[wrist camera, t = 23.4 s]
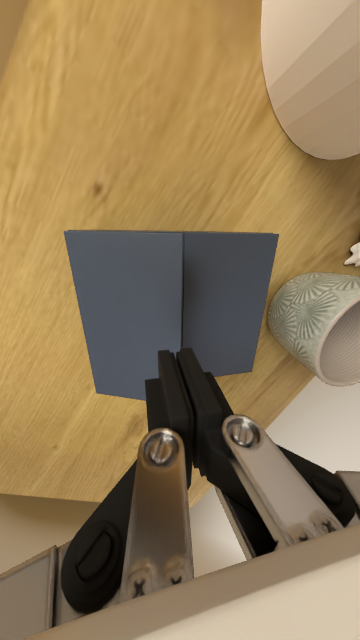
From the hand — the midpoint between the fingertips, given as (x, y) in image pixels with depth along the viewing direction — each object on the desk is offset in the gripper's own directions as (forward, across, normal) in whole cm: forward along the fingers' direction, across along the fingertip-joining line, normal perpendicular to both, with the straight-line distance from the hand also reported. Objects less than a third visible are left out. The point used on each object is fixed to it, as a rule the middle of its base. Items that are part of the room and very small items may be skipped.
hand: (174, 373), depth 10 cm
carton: (+17, -2, 0) cm, 17 cm away
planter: (+17, -22, +4) cm, 28 cm away
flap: (+6, +2, 0) cm, 6 cm away
